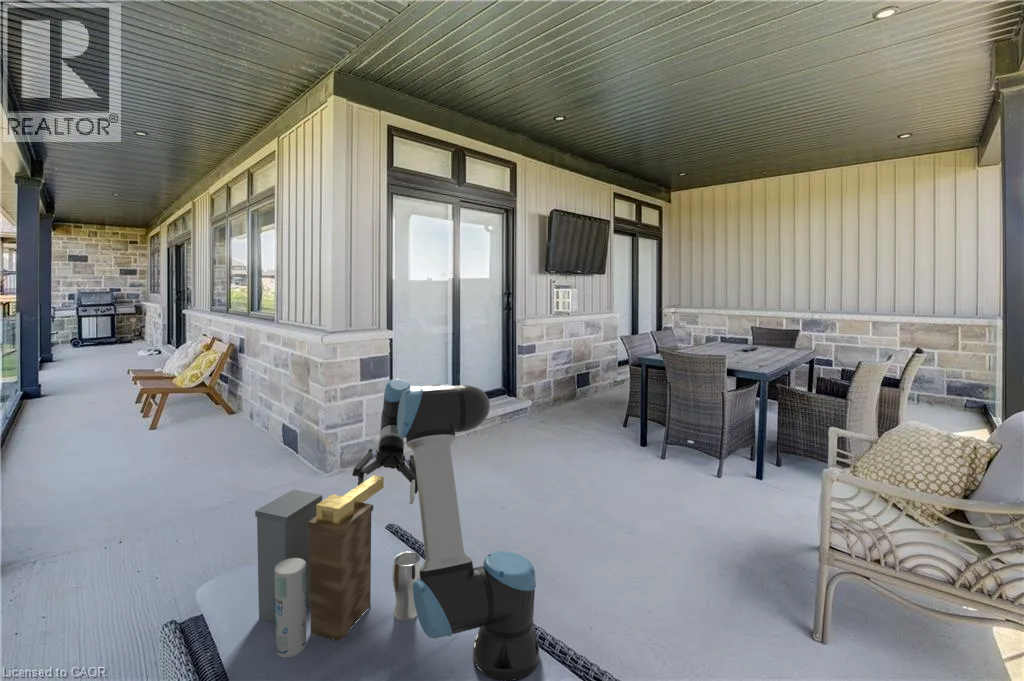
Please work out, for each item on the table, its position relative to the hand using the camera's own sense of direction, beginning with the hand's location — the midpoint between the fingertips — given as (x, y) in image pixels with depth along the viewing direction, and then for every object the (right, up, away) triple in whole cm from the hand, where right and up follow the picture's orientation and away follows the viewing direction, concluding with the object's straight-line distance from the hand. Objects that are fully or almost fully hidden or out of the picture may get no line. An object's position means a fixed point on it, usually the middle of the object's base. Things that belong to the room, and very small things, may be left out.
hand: (387, 498), depth 137 cm
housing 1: (-23, -25, -9) cm, 35 cm away
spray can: (-16, -27, -23) cm, 39 cm away
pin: (-5, +2, -11) cm, 13 cm away
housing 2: (-8, -26, -13) cm, 30 cm away
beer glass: (+7, -27, -9) cm, 29 cm away
